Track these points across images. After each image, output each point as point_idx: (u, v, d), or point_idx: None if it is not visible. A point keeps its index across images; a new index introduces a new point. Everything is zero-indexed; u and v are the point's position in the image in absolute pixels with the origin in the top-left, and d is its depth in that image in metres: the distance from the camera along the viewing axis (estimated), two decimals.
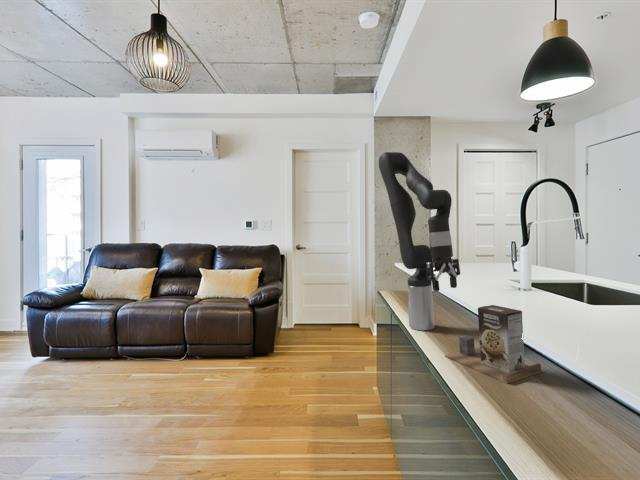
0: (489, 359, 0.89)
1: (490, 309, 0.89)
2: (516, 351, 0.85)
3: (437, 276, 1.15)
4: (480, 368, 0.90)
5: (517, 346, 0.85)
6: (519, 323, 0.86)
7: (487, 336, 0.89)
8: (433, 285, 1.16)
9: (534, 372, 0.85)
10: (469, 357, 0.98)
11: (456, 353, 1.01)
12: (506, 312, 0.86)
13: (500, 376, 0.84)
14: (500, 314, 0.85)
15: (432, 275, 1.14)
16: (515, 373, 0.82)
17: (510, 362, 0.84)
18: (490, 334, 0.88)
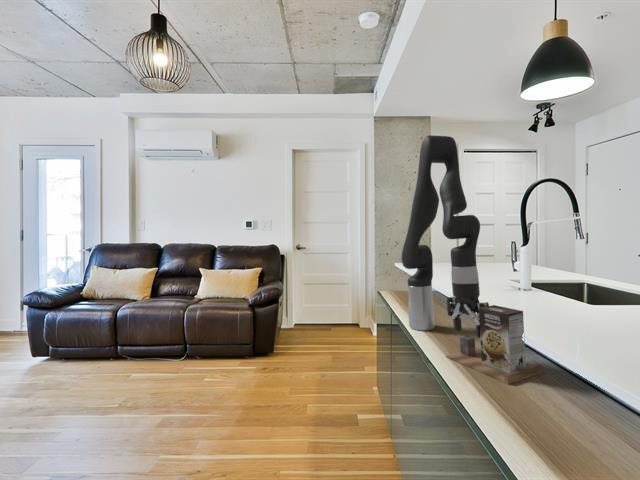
0: (490, 360, 0.89)
1: (491, 309, 0.89)
2: (517, 351, 0.85)
3: None
4: (481, 368, 0.89)
5: (519, 346, 0.85)
6: (520, 324, 0.86)
7: (488, 336, 0.89)
8: None
9: (535, 372, 0.85)
10: (470, 357, 0.97)
11: (457, 353, 1.01)
12: (507, 312, 0.85)
13: (501, 376, 0.84)
14: (501, 314, 0.85)
15: None
16: (516, 373, 0.82)
17: (511, 363, 0.84)
18: (491, 334, 0.88)
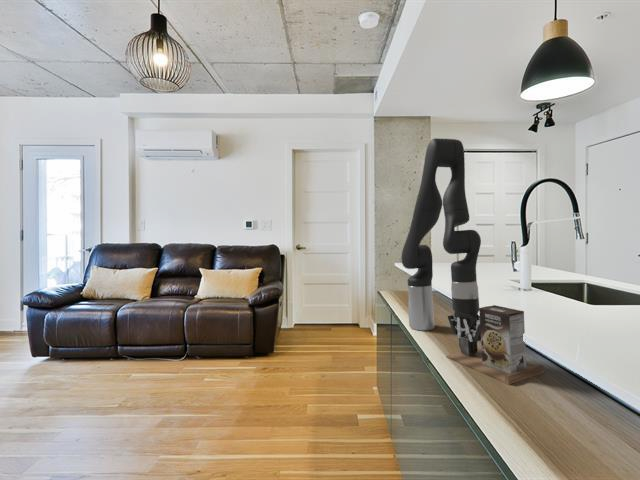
0: (491, 360, 0.89)
1: (492, 309, 0.89)
2: (518, 352, 0.85)
3: None
4: (482, 369, 0.89)
5: (519, 346, 0.85)
6: (521, 324, 0.85)
7: (488, 336, 0.89)
8: (475, 347, 0.97)
9: (536, 373, 0.84)
10: (470, 357, 0.97)
11: (457, 354, 1.01)
12: (508, 312, 0.85)
13: (501, 377, 0.84)
14: (501, 314, 0.85)
15: None
16: (517, 374, 0.82)
17: (512, 363, 0.84)
18: (492, 335, 0.88)
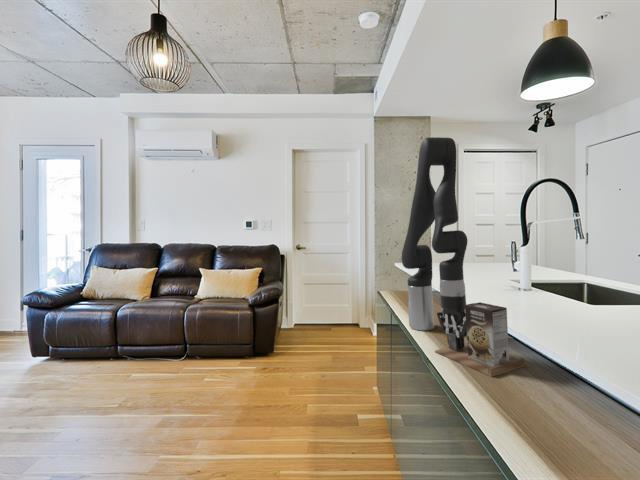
0: (475, 354, 0.94)
1: (476, 306, 0.93)
2: (501, 346, 0.89)
3: None
4: (467, 362, 0.94)
5: (502, 341, 0.90)
6: (504, 320, 0.90)
7: (474, 332, 0.94)
8: (462, 342, 1.02)
9: (518, 366, 0.89)
10: (458, 352, 1.02)
11: (445, 349, 1.05)
12: (491, 308, 0.90)
13: (485, 370, 0.88)
14: (485, 311, 0.90)
15: None
16: (499, 367, 0.87)
17: (495, 357, 0.89)
18: (476, 330, 0.93)
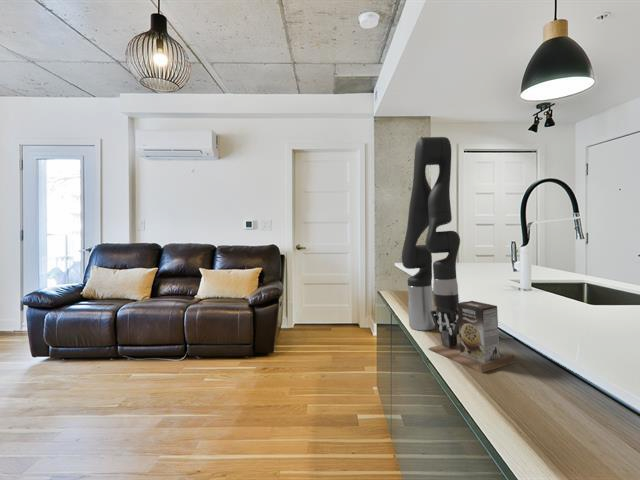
0: (467, 351, 0.96)
1: (468, 304, 0.96)
2: (491, 343, 0.92)
3: None
4: (459, 359, 0.96)
5: (493, 338, 0.92)
6: (494, 317, 0.93)
7: (465, 329, 0.96)
8: (455, 340, 1.05)
9: (508, 362, 0.92)
10: (450, 349, 1.05)
11: (439, 346, 1.08)
12: (482, 307, 0.92)
13: (476, 366, 0.91)
14: (476, 309, 0.92)
15: None
16: (490, 363, 0.89)
17: (486, 353, 0.91)
18: (468, 328, 0.95)
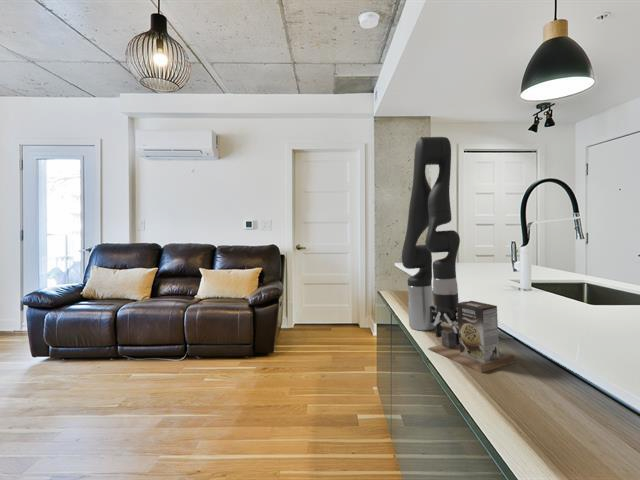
0: (467, 351, 0.96)
1: (468, 304, 0.96)
2: (491, 343, 0.92)
3: None
4: (459, 359, 0.97)
5: (492, 338, 0.92)
6: (494, 317, 0.93)
7: (465, 329, 0.96)
8: None
9: (508, 362, 0.92)
10: (450, 349, 1.05)
11: (439, 346, 1.08)
12: (482, 306, 0.93)
13: (476, 366, 0.91)
14: (476, 309, 0.92)
15: None
16: (489, 363, 0.89)
17: (485, 353, 0.91)
18: (468, 327, 0.95)
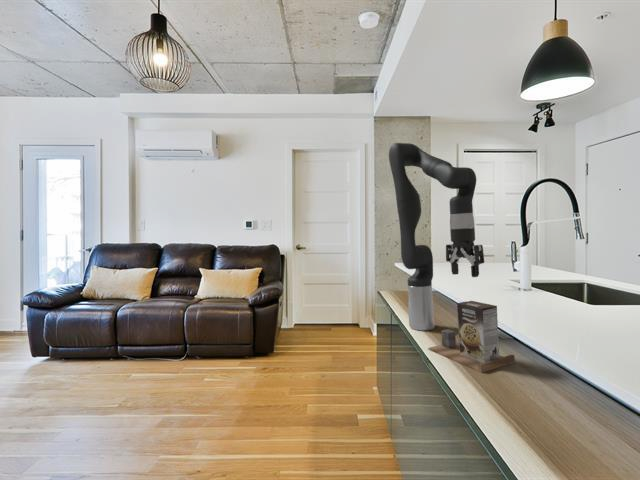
0: (467, 351, 0.96)
1: (468, 304, 0.96)
2: (491, 343, 0.92)
3: None
4: (459, 359, 0.97)
5: (492, 338, 0.92)
6: (494, 317, 0.93)
7: (465, 329, 0.96)
8: (476, 270, 1.05)
9: (508, 362, 0.92)
10: (450, 349, 1.05)
11: (439, 346, 1.08)
12: (482, 306, 0.93)
13: (476, 366, 0.91)
14: (476, 308, 0.92)
15: None
16: (489, 363, 0.89)
17: (485, 353, 0.91)
18: (468, 327, 0.95)
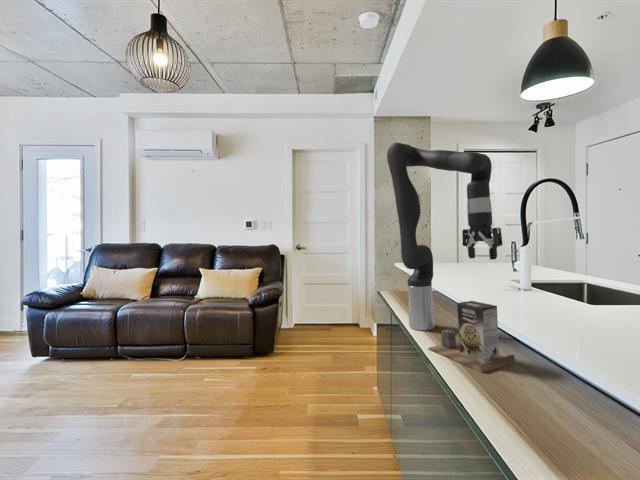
0: (467, 351, 0.96)
1: (468, 304, 0.96)
2: (491, 343, 0.92)
3: None
4: (459, 359, 0.97)
5: (492, 338, 0.92)
6: (494, 317, 0.93)
7: (465, 329, 0.96)
8: (495, 253, 1.07)
9: (508, 362, 0.92)
10: (450, 349, 1.05)
11: (439, 346, 1.08)
12: (482, 306, 0.93)
13: (476, 366, 0.91)
14: (476, 308, 0.92)
15: None
16: (489, 363, 0.89)
17: (485, 353, 0.91)
18: (468, 327, 0.95)
